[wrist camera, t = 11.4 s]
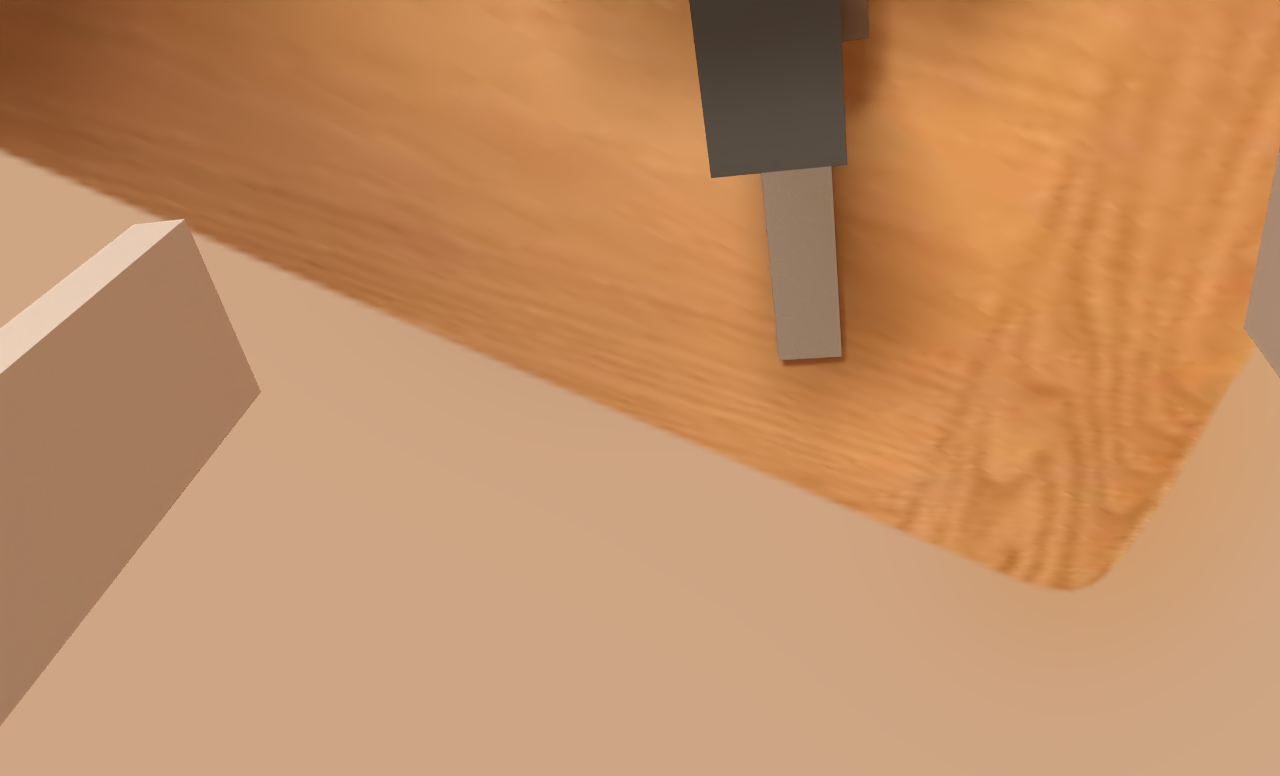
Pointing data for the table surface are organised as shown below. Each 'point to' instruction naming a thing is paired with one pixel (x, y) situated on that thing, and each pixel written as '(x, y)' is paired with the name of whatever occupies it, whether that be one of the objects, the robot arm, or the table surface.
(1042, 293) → the table surface
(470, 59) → the table surface
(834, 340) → the rail
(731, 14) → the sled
